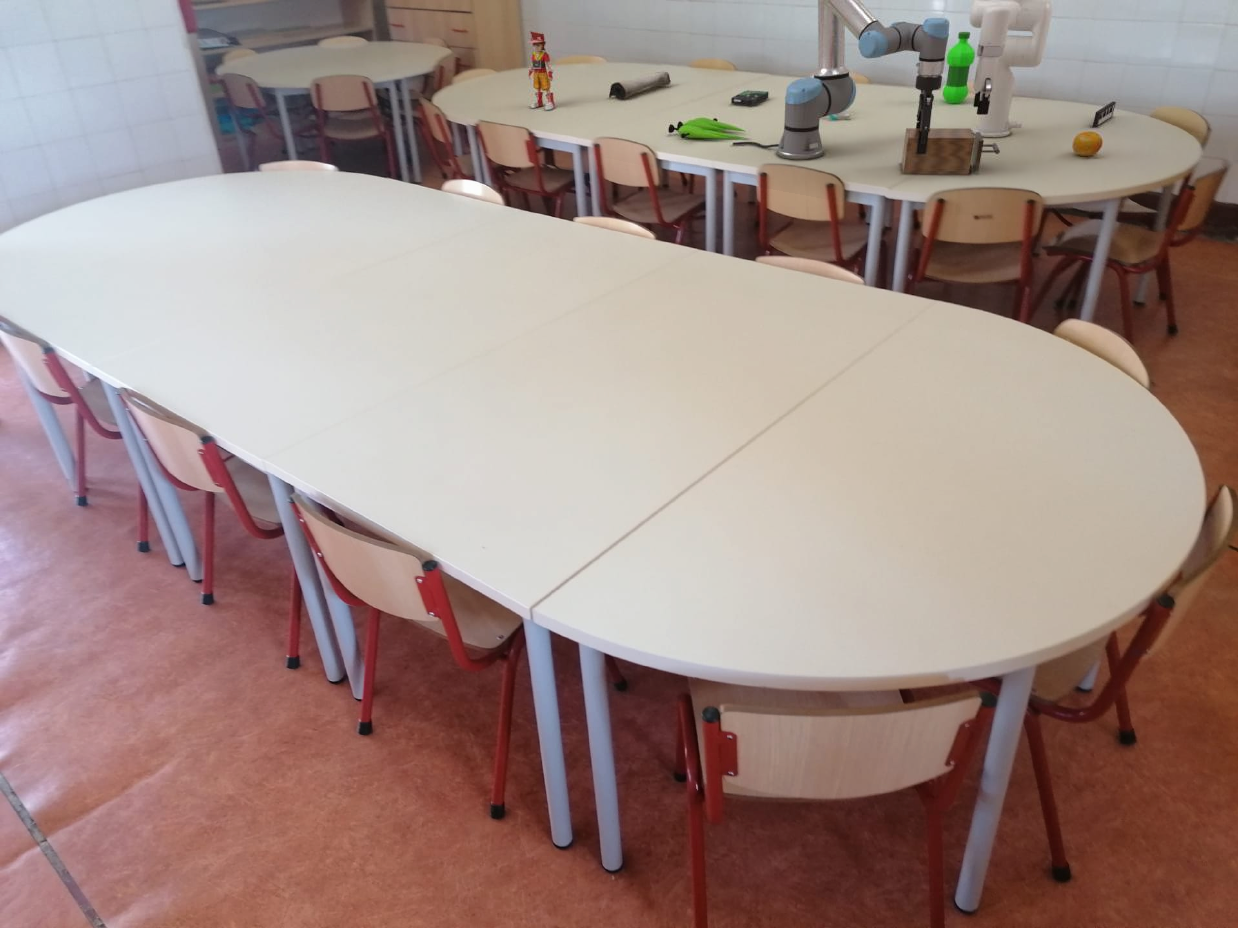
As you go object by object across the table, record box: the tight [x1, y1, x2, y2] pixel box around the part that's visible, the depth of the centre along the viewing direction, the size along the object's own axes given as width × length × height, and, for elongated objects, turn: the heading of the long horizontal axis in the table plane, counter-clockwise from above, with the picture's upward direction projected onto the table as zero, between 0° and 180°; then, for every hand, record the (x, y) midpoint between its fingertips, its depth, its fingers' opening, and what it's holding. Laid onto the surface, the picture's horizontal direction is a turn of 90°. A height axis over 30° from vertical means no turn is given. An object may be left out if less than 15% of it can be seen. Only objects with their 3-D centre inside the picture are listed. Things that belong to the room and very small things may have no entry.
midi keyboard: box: [1092, 101, 1117, 128], centre depth 320 cm, size 18×1×5 cm, turn 138°
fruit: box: [1072, 131, 1103, 157], centre depth 289 cm, size 8×8×8 cm
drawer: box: [970, 132, 1001, 172], centre depth 283 cm, size 24×10×9 cm, turn 78°
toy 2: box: [667, 117, 749, 140], centre depth 332 cm, size 28×5×30 cm
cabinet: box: [901, 127, 975, 175], centre depth 285 cm, size 20×11×11 cm, turn 78°
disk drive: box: [730, 89, 770, 107], centre depth 372 cm, size 10×3×15 cm
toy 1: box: [527, 31, 556, 111], centre depth 374 cm, size 12×9×30 cm
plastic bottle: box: [942, 31, 976, 104], centre depth 348 cm, size 10×10×25 cm
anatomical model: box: [828, 111, 851, 121], centre depth 345 cm, size 15×10×10 cm
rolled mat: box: [608, 71, 672, 101], centre depth 395 cm, size 30×9×10 cm
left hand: (919, 148), depth 285 cm, fingers closed on cabinet, 11 cm apart
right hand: (980, 110), depth 279 cm, fingers open, 9 cm apart
